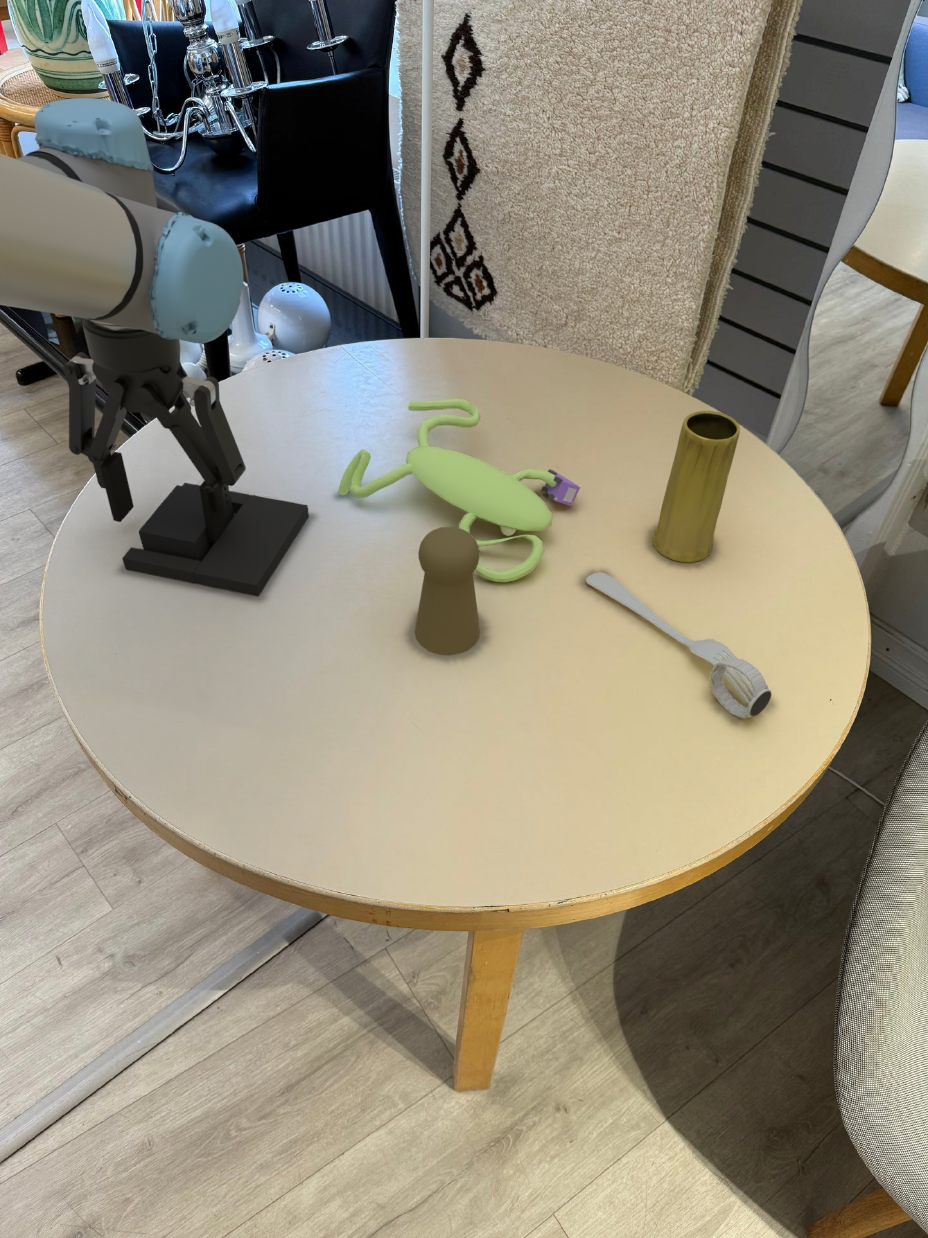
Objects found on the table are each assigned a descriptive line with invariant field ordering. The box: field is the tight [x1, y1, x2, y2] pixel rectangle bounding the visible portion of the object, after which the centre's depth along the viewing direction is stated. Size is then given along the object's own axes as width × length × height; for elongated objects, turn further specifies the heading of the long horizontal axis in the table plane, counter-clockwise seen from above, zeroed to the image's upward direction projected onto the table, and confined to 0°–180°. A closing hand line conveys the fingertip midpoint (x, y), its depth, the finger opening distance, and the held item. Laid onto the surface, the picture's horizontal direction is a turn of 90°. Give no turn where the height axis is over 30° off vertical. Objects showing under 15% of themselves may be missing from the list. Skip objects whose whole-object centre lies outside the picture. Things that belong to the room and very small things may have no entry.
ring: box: [709, 656, 772, 719], centre depth 76 cm, size 3×5×5 cm, turn 36°
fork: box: [585, 571, 754, 705], centre depth 84 cm, size 3×21×3 cm, turn 39°
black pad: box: [121, 482, 310, 597], centre depth 91 cm, size 14×13×2 cm
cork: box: [414, 526, 481, 656], centre depth 80 cm, size 6×6×11 cm
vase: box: [652, 410, 741, 563], centre depth 89 cm, size 6×6×14 cm
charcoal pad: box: [138, 484, 235, 562], centre depth 91 cm, size 6×8×3 cm
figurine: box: [338, 398, 581, 583], centre depth 96 cm, size 18×27×6 cm
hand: (170, 523), depth 91 cm, fingers open, 10 cm apart
